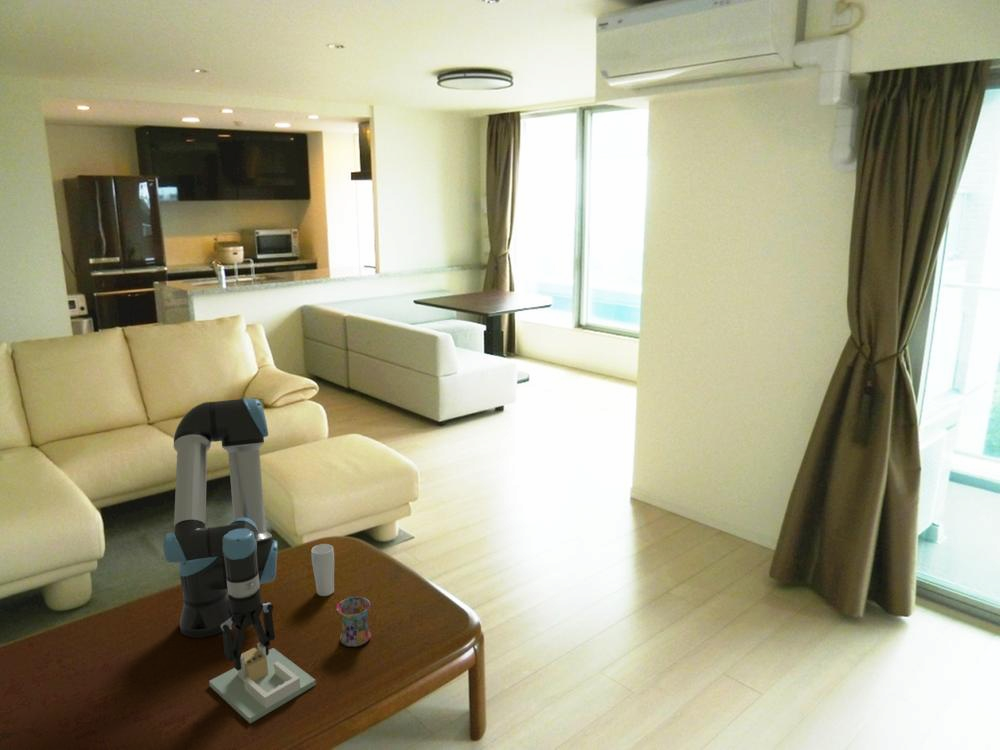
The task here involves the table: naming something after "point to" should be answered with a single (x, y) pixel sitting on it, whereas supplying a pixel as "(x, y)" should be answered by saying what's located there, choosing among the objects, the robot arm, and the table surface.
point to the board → (263, 687)
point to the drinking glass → (323, 568)
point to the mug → (354, 621)
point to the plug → (255, 664)
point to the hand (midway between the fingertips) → (253, 672)
